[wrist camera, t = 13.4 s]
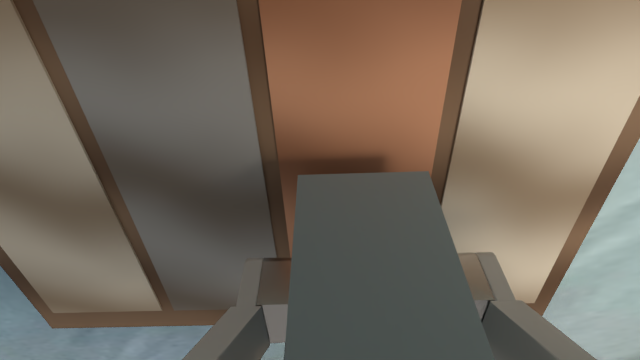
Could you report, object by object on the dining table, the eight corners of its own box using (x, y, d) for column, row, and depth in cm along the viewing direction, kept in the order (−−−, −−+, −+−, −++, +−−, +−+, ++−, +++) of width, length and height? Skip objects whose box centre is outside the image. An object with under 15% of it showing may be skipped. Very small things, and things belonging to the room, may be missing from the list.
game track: (-257, -95, 10) (-300, -91, 9) (760, -140, 9) (794, -141, 9) (60, 314, 21) (51, 330, 20) (534, 304, 21) (541, 320, 20)
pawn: (297, 174, 12) (266, 596, 5) (428, 171, 12) (577, 595, 5) (305, 260, 15) (291, 623, 8) (414, 257, 15) (501, 624, 8)
